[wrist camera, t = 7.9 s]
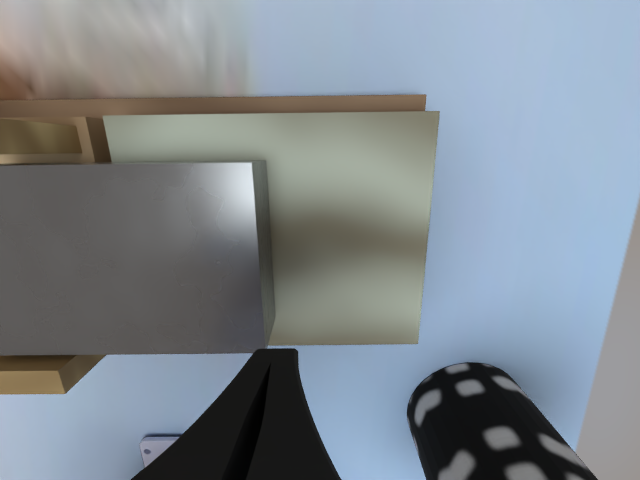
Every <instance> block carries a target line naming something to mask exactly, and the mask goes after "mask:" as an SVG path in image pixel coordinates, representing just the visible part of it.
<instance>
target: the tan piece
mask: <svg viewBox="0 0 640 480" xmlns="http://www.w3.org/2000/svg"><path fill="white" fill-rule="evenodd" d="M425 105H426V95H357V96H283V97H209V98H135V99H61V100H0V164H2V163H80V162H159V161H239V160H266V165H267V181H268V197H269V214H270V230H271V247H272V263H273V279H274V296H275V312H276V317H275V321H274V325H273V329H272V332H271V336H270V340H269V343H268V345H369V344H418V338H419V327H420V316H421V306H422V295H423V284H424V273H425V263H426V252H427V241H428V231H429V220H430V209H431V199H432V188H433V177H434V167H435V156H436V145H437V134H438V124H439V113H440V111H425ZM104 356H106V355H9V356H0V394H66V393H67V392H68V391H69V390H70V389H71V388H72V387H73V386H74V385H75V384H76V383H77V382H78V381H79V380H80V379H81V378H82V377H83V376H84V375H86V374H87V373H88V372H89V371H90V370H91V369H92V368H93V367H94V366H95V365H96V364H97V363H98V362H99V361H100V360H101V359H102V358H103V357H104Z"/></svg>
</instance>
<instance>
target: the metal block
mask: <svg viewBox="0 0 640 480" xmlns="http://www.w3.org/2000/svg"><path fill="white" fill-rule="evenodd" d="M275 317H276V312H275V296H274V279H273V263H272V247H271V230H270V214H269V197H268V181H267V165H266V160H239V161H159V162H80V163H2V164H0V356H9V355H112V354H215V353H254V352H255V351H256V350H257V349H267V347H268V343H269V340H270V336H271V332H272V329H273V325H274V321H275Z"/></svg>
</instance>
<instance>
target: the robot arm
mask: <svg viewBox="0 0 640 480" xmlns="http://www.w3.org/2000/svg"><path fill="white" fill-rule="evenodd" d="M140 450H141V454H142V458H143V462H144V466H145V468H144V469H143V470H142V471H140V472H139V473H138V474H137V475H136V476H134V477H133V478H132V479H131V480H341V478H340V477H339V475H338V473H337V471H336V469H335V467H334V465H333V463H332V461H331V459H330V457H329V455H328V453H327V451H326V449H325V447H324V444H323V442H322V440H321V438H320V435H319V433H318V431H317V428H316V426H315V423H314V421H313V418H312V415H311V412H310V410H309V407H308V404H307V401H306V398H305V394H304V391H303V387H302V383H301V379H300V374H299V368H298V351H297V350H296V349H257V350H256V351H255V352H254V353H253V355H252V356H251V357H250V359H249V360H248V361H247V363H246V364H245V365H244V367H243V368H242V369H241V370H240V372H239V373H238V374H237V375H236V377H235V378H234V379H233V380H232V381H231V383H230V384H229V385H228V386H227V387H226V389H225V390H224V391H223V392H222V393H221V395H220V396H219V397H218V398H217V399H216V400H215V401H214V402H213V403H212V404H211V406H210V407H209V408H208V409H207V410H206V411H205V412H204V413H203V414H202V415H201V416H200V417H199V418H198V419H197V420H196V421H195V423H194V424H193V425H192V426H190V427H189V428H188V429H187V430H186V431H185V432H184V433H183V434H182V435H181V436H180V437H145V438H143V439H142V441H141V443H140Z"/></svg>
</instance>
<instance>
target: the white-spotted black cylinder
mask: <svg viewBox="0 0 640 480" xmlns="http://www.w3.org/2000/svg"><path fill="white" fill-rule="evenodd" d="M407 418H408V424H409V427H410V430H411V433H412V436H413V440H414V443H415V446H416V449H417V452H418V455H419V458H420V461H421V464H422V467H423V470H424V474H425V477H426V480H598V479H597V478H596V477H595V476H594V475H593V473H592V472H591V471H590V470H589V469H588V468H587V466H586V465H585V464H584V463H583V462H582V460H581V459H580V458H579V457H578V456H577V454H576V453H575V452H574V451H573V450H572V449H571V447H570V446H569V445H568V444H567V443H566V441H565V440H564V439H563V438H562V437H561V435H560V434H559V433H558V432H557V431H556V430H555V428H554V427H553V426H552V425H551V424H550V422H549V421H548V420H547V419H546V418H545V417H544V415H543V414H542V413H541V412H540V411H539V409H538V408H537V407H536V406H535V405H534V404H533V402H532V401H531V400H530V399H529V398H528V396H527V395H526V394H525V393H524V392H523V391H522V389H521V388H520V387H519V386H518V385H517V383H516V382H515V381H514V380H513V379H512V378H511V377H510V376H509V375H508V374H507V373H505V372H504V371H502V370H501V369H498V368H496V367H493V366H491V365H486V364H481V363H463V364H456V365H453V366H449V367H446V368H443V369H441V370H439V371H437V372H435V373H433V374H432V375H431V376H429V377H428V378H427V379H425V380H424V381H423V382H422V383H421V384H420V385H419V386H418V387H417V388H416V390H415V392H414V393H413V395H412V396H411V399H410V401H409V404H408V410H407Z"/></svg>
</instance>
